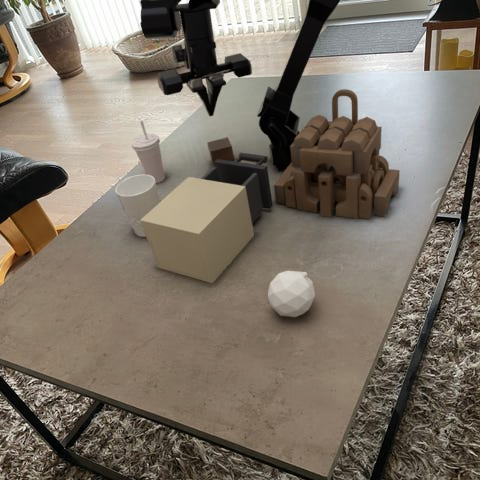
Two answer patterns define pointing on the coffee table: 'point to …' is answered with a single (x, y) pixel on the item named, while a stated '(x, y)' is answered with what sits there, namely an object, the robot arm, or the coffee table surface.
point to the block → (220, 150)
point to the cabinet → (199, 228)
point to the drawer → (246, 180)
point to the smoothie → (149, 154)
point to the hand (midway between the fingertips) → (210, 115)
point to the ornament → (291, 293)
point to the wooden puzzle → (338, 167)
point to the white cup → (138, 199)
